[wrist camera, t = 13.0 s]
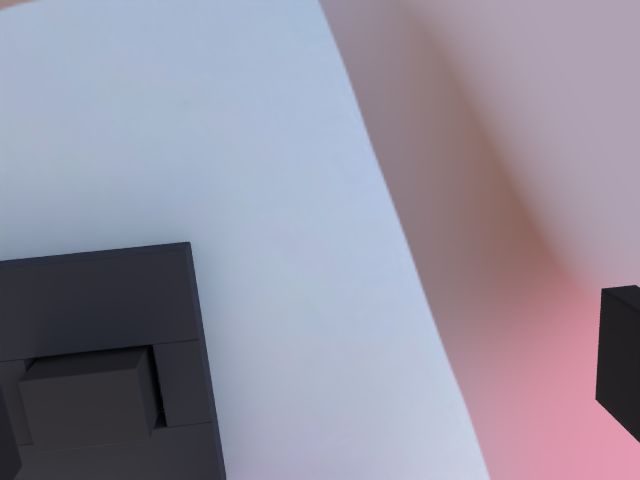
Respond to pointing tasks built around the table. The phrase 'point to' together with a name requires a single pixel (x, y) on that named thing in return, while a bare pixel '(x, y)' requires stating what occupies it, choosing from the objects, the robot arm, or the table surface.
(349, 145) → the table surface
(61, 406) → the black pad
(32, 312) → the charcoal pad
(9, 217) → the table surface
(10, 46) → the table surface
